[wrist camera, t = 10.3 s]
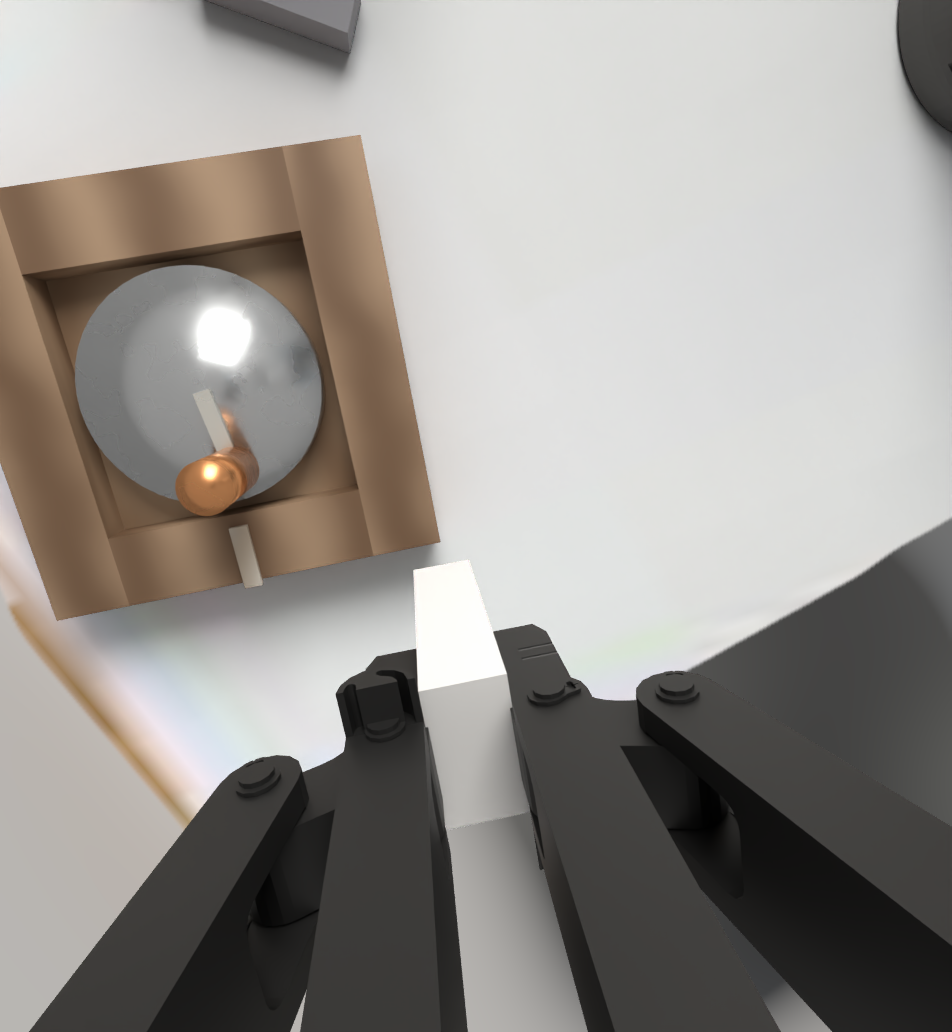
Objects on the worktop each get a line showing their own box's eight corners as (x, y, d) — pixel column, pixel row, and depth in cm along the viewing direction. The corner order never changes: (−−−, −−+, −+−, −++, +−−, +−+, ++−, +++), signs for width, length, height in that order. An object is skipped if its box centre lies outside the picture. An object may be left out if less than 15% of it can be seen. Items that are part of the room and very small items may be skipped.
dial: (50, 311, 34) (-49, 293, 27) (276, 241, 35) (243, 203, 27) (150, 526, 37) (88, 566, 30) (356, 457, 38) (347, 479, 30)
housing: (363, 162, 37) (360, 132, 32) (436, 529, 42) (441, 548, 38) (-36, 222, 35) (-98, 200, 30) (92, 599, 40) (55, 627, 36)
